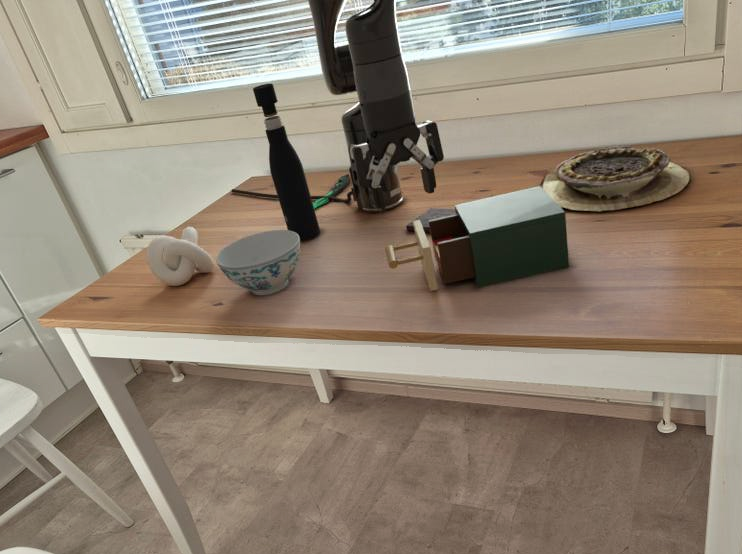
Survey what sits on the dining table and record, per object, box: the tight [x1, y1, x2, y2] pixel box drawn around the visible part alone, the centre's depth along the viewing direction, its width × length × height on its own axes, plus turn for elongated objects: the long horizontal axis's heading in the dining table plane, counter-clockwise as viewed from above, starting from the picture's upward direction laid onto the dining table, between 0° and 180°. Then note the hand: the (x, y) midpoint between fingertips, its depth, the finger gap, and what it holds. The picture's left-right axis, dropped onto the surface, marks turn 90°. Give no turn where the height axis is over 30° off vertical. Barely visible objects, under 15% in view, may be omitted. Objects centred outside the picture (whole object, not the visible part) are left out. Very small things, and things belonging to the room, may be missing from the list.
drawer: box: [384, 214, 476, 292], centre depth 109 cm, size 19×12×7 cm, turn 96°
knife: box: [312, 173, 351, 210], centre depth 162 cm, size 23×1×5 cm
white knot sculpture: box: [146, 226, 215, 287], centre depth 133 cm, size 11×12×9 cm
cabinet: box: [454, 185, 570, 288], centre depth 109 cm, size 15×14×9 cm
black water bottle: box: [252, 83, 321, 243], centre depth 133 cm, size 6×6×30 cm
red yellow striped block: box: [431, 237, 453, 275], centre depth 110 cm, size 8×3×3 cm, turn 7°
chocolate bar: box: [405, 207, 456, 233], centre depth 129 cm, size 9×1×18 cm
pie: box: [538, 145, 690, 212], centre depth 130 cm, size 28×27×5 cm
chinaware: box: [215, 229, 301, 296], centre depth 120 cm, size 15×15×8 cm
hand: (405, 200), depth 104 cm, fingers open, 8 cm apart
